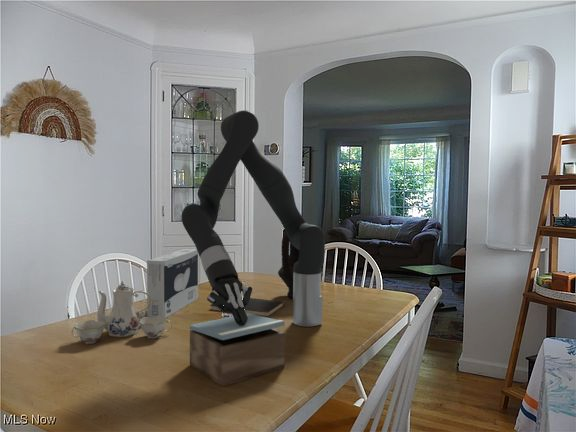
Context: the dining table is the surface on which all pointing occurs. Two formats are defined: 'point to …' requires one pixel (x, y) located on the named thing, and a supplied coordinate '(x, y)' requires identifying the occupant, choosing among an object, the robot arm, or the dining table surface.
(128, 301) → the chinaware
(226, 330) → the lid
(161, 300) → the packaging
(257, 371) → the box
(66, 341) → the dining table surface
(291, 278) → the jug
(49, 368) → the dining table surface
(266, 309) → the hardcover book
